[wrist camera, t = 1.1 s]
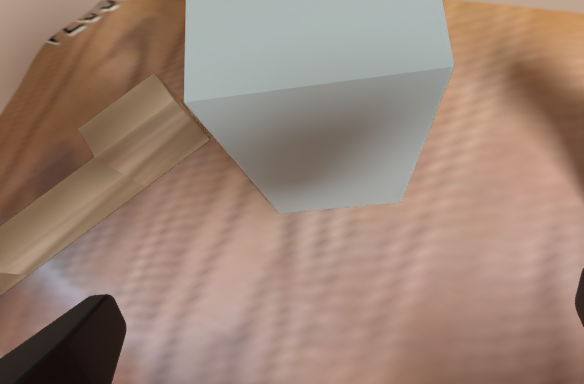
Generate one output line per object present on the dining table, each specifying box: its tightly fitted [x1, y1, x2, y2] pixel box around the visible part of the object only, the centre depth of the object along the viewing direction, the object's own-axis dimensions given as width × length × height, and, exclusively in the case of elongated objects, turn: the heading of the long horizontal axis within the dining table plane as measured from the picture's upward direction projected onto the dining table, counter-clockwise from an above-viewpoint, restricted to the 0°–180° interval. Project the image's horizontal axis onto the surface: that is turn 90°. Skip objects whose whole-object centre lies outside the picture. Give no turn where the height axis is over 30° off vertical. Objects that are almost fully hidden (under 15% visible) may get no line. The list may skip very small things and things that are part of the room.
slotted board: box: [0, 73, 210, 296], centre depth 22 cm, size 2×18×5 cm, turn 127°
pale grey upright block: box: [184, 0, 454, 214], centre depth 17 cm, size 6×7×13 cm
